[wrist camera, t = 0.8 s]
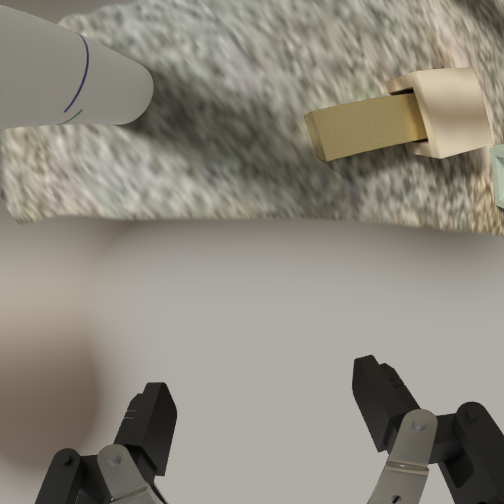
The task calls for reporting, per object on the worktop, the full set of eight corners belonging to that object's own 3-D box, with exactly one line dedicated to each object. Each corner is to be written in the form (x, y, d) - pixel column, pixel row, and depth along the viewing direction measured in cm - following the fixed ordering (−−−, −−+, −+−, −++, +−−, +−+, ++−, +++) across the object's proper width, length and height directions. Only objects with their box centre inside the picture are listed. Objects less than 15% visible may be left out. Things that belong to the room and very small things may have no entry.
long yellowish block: (303, 115, 25) (311, 111, 21) (443, 92, 23) (465, 89, 19) (316, 157, 27) (326, 161, 23) (452, 128, 24) (475, 129, 20)
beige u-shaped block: (384, 82, 23) (415, 71, 17) (438, 75, 22) (473, 67, 16) (406, 152, 26) (440, 158, 20) (457, 139, 25) (492, 144, 18)
